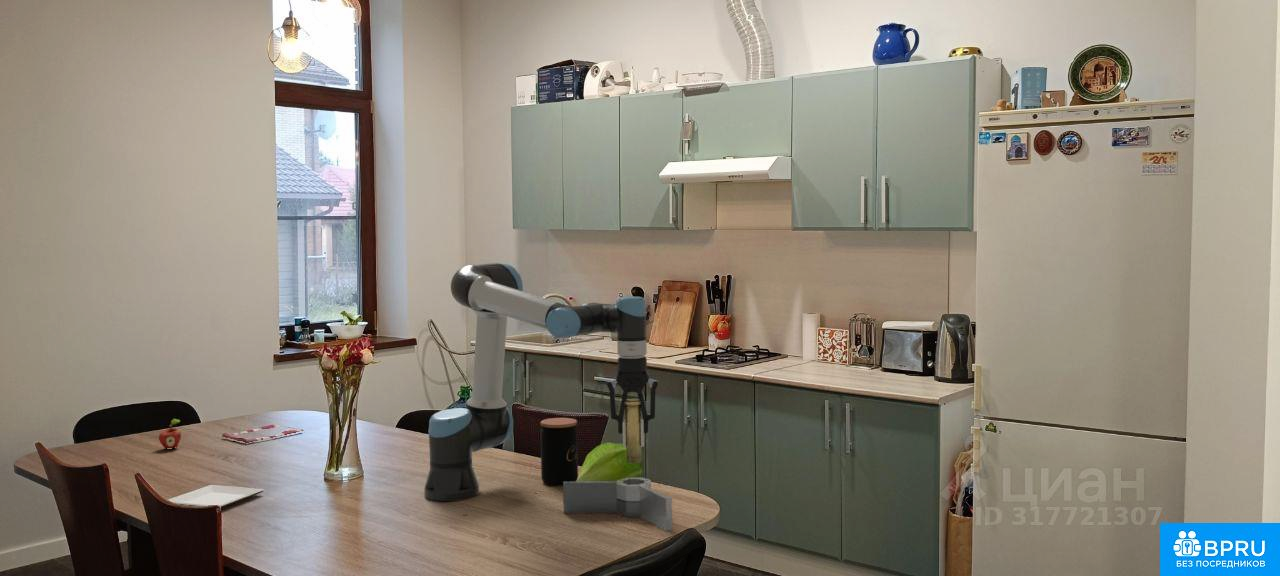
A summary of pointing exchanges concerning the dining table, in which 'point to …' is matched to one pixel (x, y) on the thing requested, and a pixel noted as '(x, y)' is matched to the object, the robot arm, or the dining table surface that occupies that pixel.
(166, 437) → the apple
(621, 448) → the lettuce
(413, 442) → the dining table surface
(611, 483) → the hinge
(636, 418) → the pin
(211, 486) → the plate
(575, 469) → the coffee jar
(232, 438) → the dish towel
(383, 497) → the dining table surface
